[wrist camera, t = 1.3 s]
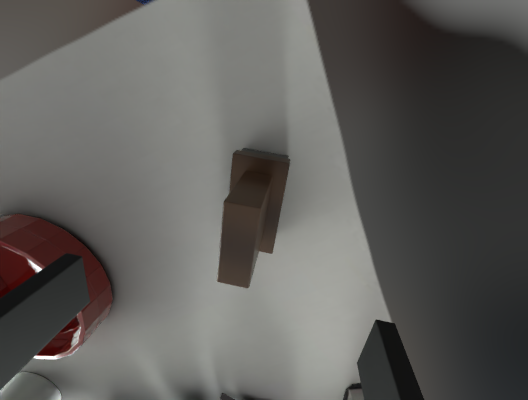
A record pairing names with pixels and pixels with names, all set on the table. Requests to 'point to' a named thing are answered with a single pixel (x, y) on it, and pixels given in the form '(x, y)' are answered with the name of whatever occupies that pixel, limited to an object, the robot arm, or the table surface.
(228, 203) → the brown block stand
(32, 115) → the table surface
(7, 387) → the cup
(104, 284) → the bowl
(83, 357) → the table surface
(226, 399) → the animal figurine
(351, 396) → the decorative ornament
